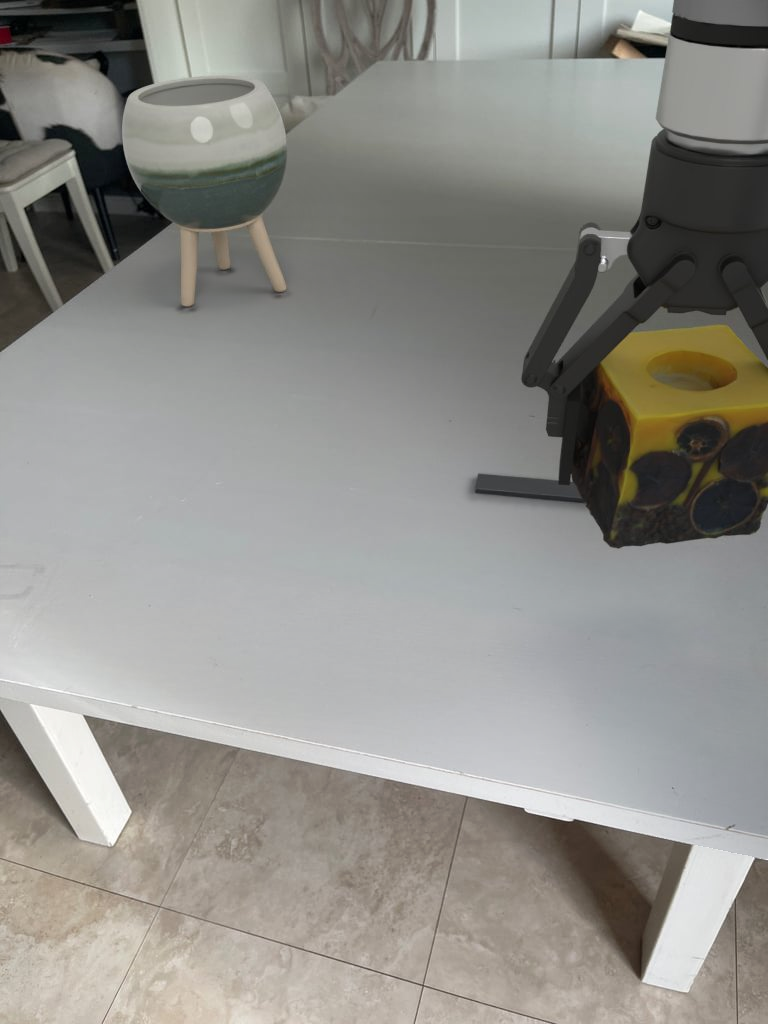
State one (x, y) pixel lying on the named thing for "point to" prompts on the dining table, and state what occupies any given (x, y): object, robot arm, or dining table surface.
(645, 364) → the candle
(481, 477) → the knife
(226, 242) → the planter
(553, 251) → the dining table surface
